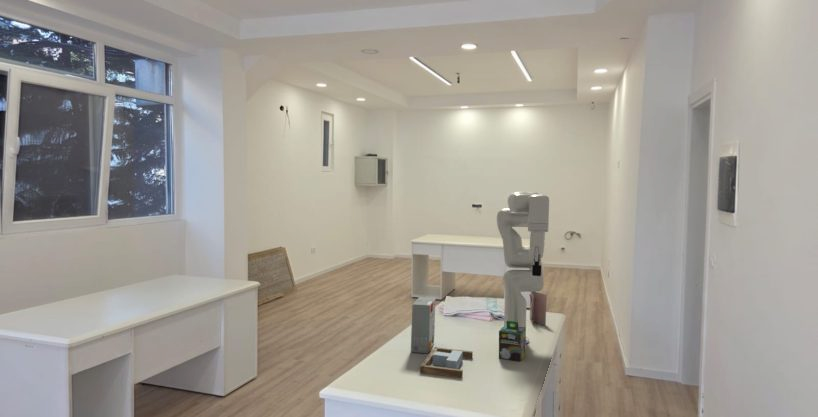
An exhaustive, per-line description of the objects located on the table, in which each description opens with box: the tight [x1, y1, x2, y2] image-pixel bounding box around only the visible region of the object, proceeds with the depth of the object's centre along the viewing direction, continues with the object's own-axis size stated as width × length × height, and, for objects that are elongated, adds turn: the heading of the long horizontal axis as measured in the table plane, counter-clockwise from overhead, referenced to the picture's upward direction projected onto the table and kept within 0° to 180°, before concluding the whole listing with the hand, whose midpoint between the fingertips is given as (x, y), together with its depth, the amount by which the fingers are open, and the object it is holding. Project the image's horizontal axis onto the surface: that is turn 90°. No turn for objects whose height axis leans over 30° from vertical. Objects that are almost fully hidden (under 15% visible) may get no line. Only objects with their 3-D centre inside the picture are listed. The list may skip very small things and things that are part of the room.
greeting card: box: [528, 291, 547, 326], centre depth 265 cm, size 11×7×15 cm, turn 174°
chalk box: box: [498, 321, 527, 362], centre depth 213 cm, size 9×9×15 cm
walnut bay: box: [419, 346, 474, 379], centre depth 203 cm, size 23×16×2 cm
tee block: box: [432, 349, 464, 369], centre depth 203 cm, size 12×10×4 cm
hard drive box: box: [410, 296, 436, 354], centre depth 223 cm, size 16×8×20 cm, turn 168°
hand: (536, 275), depth 201 cm, fingers closed
